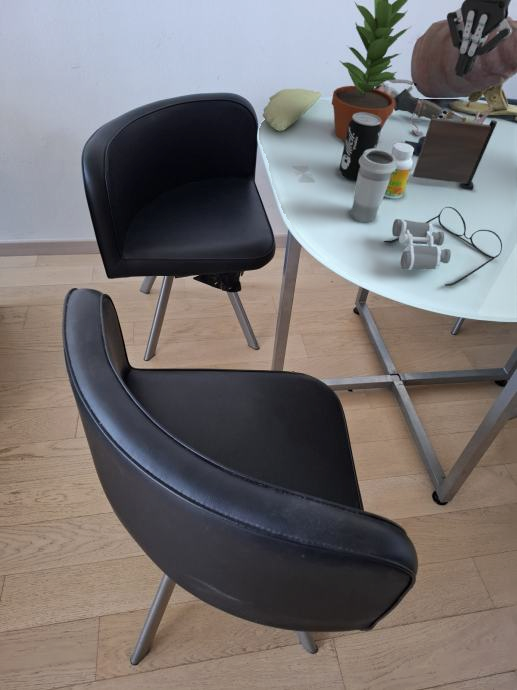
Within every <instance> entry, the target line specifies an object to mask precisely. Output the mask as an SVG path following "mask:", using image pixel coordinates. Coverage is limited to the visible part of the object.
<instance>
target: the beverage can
mask: <svg viewBox="0 0 517 690" xmlns="http://www.w3.org/2000/svg"><path fill="white" fill-rule="evenodd" d="M380 123H381V119H380V118H379V117H378V116H376V115H374V114H370V113H363V112H361V113H356V114H354V115H353V117H352V120H351V121H350V122H349V125H348V130H347V135H346V139H345V141H344V145H343V149H342V154H341V159H340V164H339V172H340V174H341V176H342V177H343V178H345V179H346V180H348V181H352V182H353V181H355V182H357V177H358V172H359V168H360V164H359V159H360V157H361V156H362V155H363V153H364V152H365V151H366V150H368V149H377V148H378V144H379V140H380V135H381V132H382V129H381V125H380Z"/></svg>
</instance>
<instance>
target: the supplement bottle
mask: <svg viewBox="0 0 517 690" xmlns="http://www.w3.org/2000/svg"><path fill="white" fill-rule="evenodd" d="M413 151H414V148H413V147H412V146H411V145H409V144H406V143H405V142H396V143H394V144H393V145H392V149H391V153H392V154H393V155H394V156H395V158H396V161H395V162H396V169H395V171H393V172H392V173H391V178H390V181H389V183H388V186H387V189H386V191H385V194H384V197H383V198H388V199H392V200H393V199H400V198H401V197H403V195H404V193H405V190H406V187H407V183H408V181H409V177H410V174H411V171H412V169H413V165H414V161H413V159H412V156H413Z"/></svg>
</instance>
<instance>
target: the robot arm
mask: <svg viewBox="0 0 517 690" xmlns="http://www.w3.org/2000/svg"><path fill="white" fill-rule="evenodd" d="M511 1H512V0H464V1H463V2H461V3H462V4H461V6H460V8H458V9H456V10H454V11H451V12H448V13H447V14H446V19H447V21H448V25H449V29H450V34H451V38H452V42H453V46H454V47H457V48H458V49H459V51H460V55H459V58H458V61H457V64H456V67H455V71H456V75H457V76H460V77H465V76H467V75H468V74H470V73H471V71H472V69H473V66H474V63H475V60H476V58H477V56H478V55H480V56H481V55H483V54H487V53H489V52H490V51H491V50H493V49H494V48H495V47H496V46H498V45H499V44H500V43H502V42H503V41H504V40H505V39H507V38H508V37H509V36H510V35H512V34H513V33H514V28H513V27H510V26H509V24H508V22H507V19H506V18H507V16H509V6H510V4H511ZM462 19H463V23H464V27H465V29H464V32H463V28H462V23H461V21H462ZM499 25H500V26H499ZM498 26H499V28H498V29H497V31H496V36H495V37H493V38H492V39H491V40H490V41H488V42H487V43H486V44H485V45H483V44H484V42H485V41H486V39H487V37H488V35H489V34H490V33H491V32H492V31H493V30H495V29H496V28H497V27H498Z"/></svg>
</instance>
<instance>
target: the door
mask: <svg viewBox="0 0 517 690" xmlns="http://www.w3.org/2000/svg"><path fill="white" fill-rule="evenodd" d="M490 129H491V126H490V125H489V124H485V123H483V124H477V123H469V122H461V121H452V120H444V119H443V118H442V119H440V118H438V119H436V118H431V119H430V121H429V124H428V128H427V131H426V133H425V135H424V136H425V139H424V142H423V145H422V148H421V151H420V154H419V155H418V157H417V161H416V164H415V166H414V169H413V172H412V177H413V178H417V179H418V178H419V179H426V180H433V181H442V182H449V183H450V182H451V183H458V184H459V183H460V184H461V183H466V184H467V183H468V181H469V178H470V176H471V174H472V171H473V169H474V166H475V164H476V162H477V159H478V157H479V155H480V152H481V150H482V148H483V145H484V143H485V141H486V138H487V136H488V134H489V131H490Z"/></svg>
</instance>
